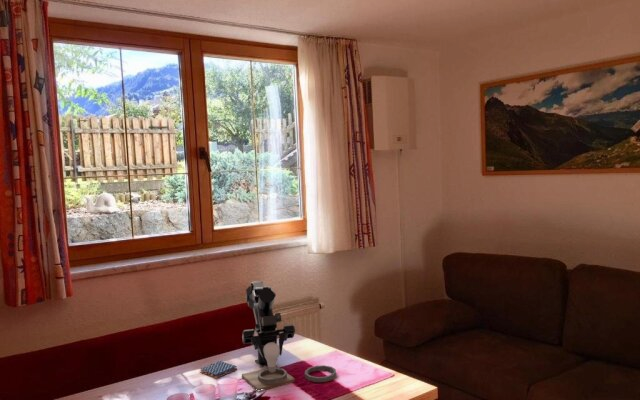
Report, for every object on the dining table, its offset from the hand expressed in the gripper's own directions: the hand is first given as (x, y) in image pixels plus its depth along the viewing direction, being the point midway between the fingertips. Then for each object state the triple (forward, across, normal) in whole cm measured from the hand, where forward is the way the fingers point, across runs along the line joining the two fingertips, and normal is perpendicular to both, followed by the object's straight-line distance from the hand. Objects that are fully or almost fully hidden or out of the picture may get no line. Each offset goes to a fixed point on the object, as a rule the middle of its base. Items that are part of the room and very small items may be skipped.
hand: (272, 356), depth 175 cm
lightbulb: (+4, 0, +6) cm, 7 cm away
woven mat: (-5, -18, +20) cm, 27 cm away
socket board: (+5, -2, +9) cm, 10 cm away
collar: (+7, +17, +6) cm, 20 cm away
